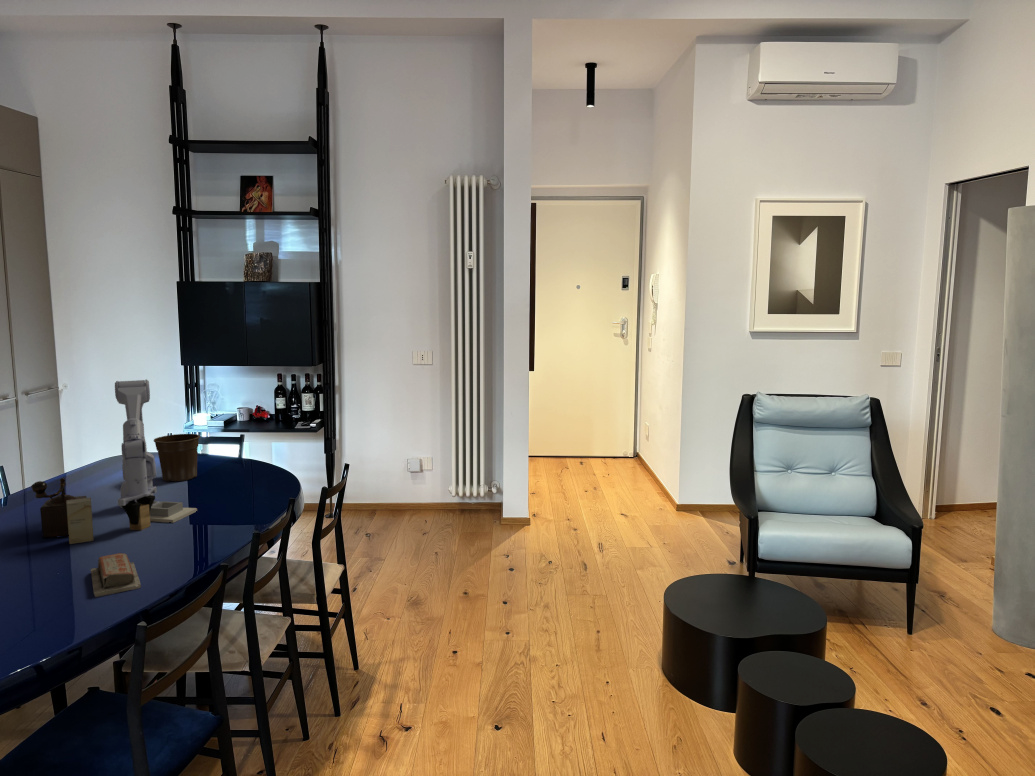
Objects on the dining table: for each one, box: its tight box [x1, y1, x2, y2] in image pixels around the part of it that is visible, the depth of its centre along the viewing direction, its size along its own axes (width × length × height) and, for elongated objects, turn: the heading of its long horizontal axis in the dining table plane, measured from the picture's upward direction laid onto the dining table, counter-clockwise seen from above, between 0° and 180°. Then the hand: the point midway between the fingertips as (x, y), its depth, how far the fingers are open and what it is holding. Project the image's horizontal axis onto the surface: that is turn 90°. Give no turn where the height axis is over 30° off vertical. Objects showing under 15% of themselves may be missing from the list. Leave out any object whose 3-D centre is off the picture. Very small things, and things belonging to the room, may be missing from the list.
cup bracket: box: [150, 500, 198, 524], centre depth 230 cm, size 14×12×5 cm
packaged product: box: [90, 552, 142, 598], centre depth 178 cm, size 18×5×10 cm
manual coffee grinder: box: [30, 477, 88, 538], centre depth 212 cm, size 16×11×18 cm
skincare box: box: [66, 497, 95, 545], centre depth 206 cm, size 6×4×12 cm
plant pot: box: [153, 433, 201, 482], centre depth 275 cm, size 16×16×16 cm
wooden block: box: [128, 504, 151, 531], centre depth 218 cm, size 4×4×7 cm
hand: (139, 521), depth 218 cm, fingers closed on wooden block, 4 cm apart
